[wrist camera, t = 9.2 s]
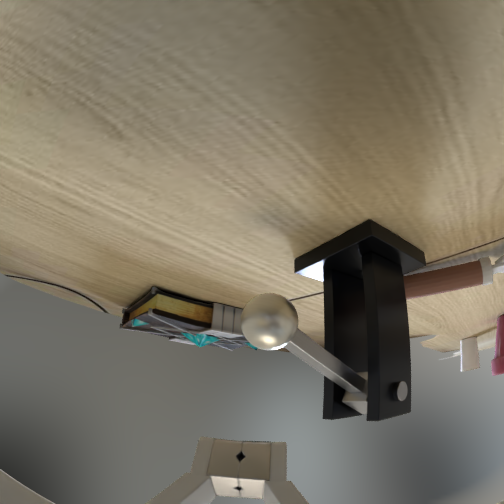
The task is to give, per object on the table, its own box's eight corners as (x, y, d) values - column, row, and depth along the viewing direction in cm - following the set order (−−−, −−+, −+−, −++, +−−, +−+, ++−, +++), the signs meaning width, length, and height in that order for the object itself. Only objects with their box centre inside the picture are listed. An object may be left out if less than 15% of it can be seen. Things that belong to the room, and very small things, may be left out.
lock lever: (245, 289, 18) (221, 332, 16) (276, 274, 16) (251, 324, 14) (366, 382, 21) (355, 418, 19) (399, 379, 18) (389, 419, 17)
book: (122, 307, 45) (117, 337, 43) (150, 283, 32) (143, 326, 30) (233, 332, 56) (231, 358, 54) (293, 319, 43) (293, 352, 41)
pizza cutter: (381, 294, 32) (383, 319, 30) (362, 279, 28) (364, 308, 26) (541, 247, 19) (548, 273, 18) (550, 221, 15) (560, 252, 14)
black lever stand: (294, 259, 25) (290, 419, 19) (369, 218, 18) (382, 425, 13) (355, 280, 28) (358, 411, 23) (424, 252, 22) (437, 407, 16)
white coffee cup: (481, 335, 67) (483, 366, 62) (472, 339, 72) (473, 369, 68) (464, 338, 68) (466, 370, 64) (455, 342, 74) (457, 372, 70)
